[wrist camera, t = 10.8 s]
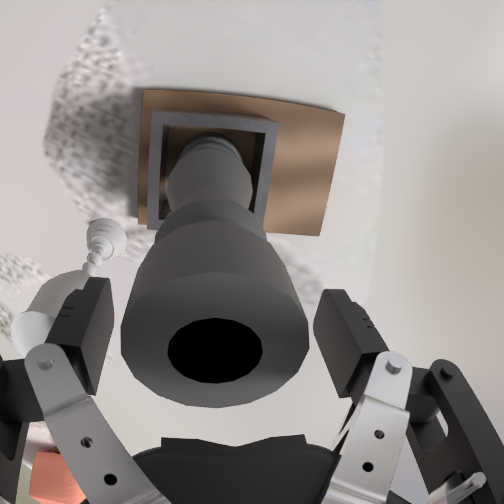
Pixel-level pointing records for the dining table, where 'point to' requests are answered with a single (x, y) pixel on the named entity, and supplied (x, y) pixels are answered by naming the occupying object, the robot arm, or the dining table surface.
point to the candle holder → (212, 291)
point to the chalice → (66, 286)
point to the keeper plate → (286, 153)
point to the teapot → (53, 480)
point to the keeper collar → (260, 125)
